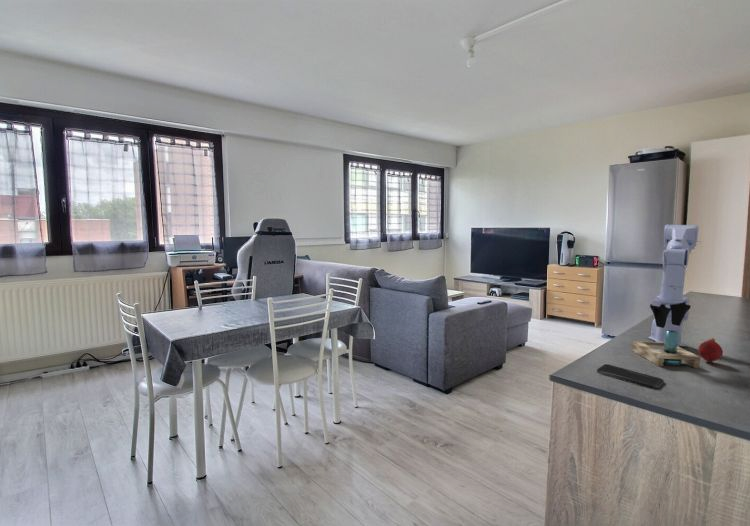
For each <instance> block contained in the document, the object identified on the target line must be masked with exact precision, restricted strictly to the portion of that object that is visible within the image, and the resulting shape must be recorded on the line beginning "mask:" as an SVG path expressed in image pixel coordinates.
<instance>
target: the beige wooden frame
mask: <svg viewBox="0 0 750 526" xmlns="http://www.w3.org/2000/svg"><path fill="white" fill-rule="evenodd" d="M651 346H659V347H660V346H661V347H662V346H663V347H664V346H665V342H656V341H642V340H641V341H640V340H632V344H631V352H633V351H634V352H633V353H635V354H636V353H637V355H638V354H639V355H638V356H640V355H641V356H640V357H642V358H643V357H644V358H643V359H645V358H646V359H645V360H647V359H648V360H649V361H648V360H647V361H648V362H650V361H651V362H650V363H652V362H653V363H652V364H654V365H655V364H656V365H655V366H657V365H658V366H657V367H664V364H663V363H664V359H682V362H681V363H683V364H686V365H688V366H689V367H691V366H692V368H693V367H694V369H700V364H701V356H700V355H698V354H695V353H692V352H691V351H688V350H686V349H684V348H682V347H681V346H677V354H668V353H666V352H664V350H662V349H661V348H660V349H659V348H658V349H657V348H653V347H651Z"/></svg>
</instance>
